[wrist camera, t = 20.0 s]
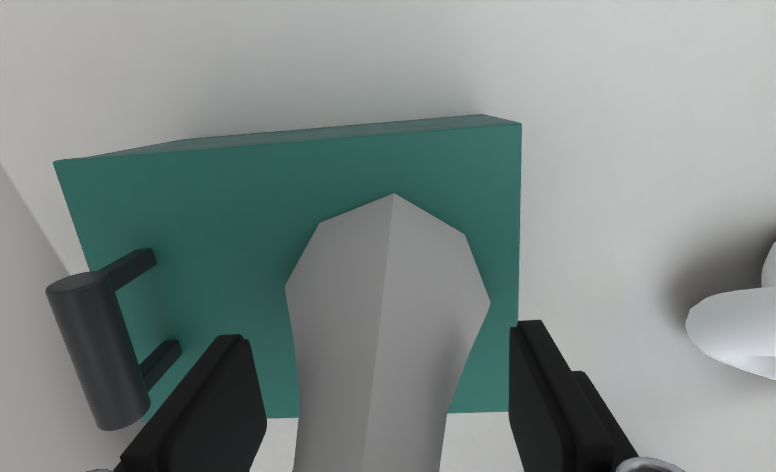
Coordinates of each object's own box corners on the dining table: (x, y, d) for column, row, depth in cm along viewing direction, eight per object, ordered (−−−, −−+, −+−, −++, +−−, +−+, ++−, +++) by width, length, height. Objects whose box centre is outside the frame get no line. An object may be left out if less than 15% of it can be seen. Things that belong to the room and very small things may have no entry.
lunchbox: (228, 331, 25) (165, 412, 19) (182, 139, 21) (85, 157, 15) (485, 319, 24) (512, 400, 18) (483, 114, 20) (517, 121, 14)
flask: (253, 279, 16) (10, 561, 6) (397, 154, 14) (367, 278, 4) (379, 400, 17) (340, 777, 8) (523, 301, 15) (707, 634, 6)
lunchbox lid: (149, 412, 19) (69, 508, 14) (64, 159, 15) (-76, 184, 11) (513, 401, 17) (547, 502, 13) (517, 121, 14) (566, 133, 9)
